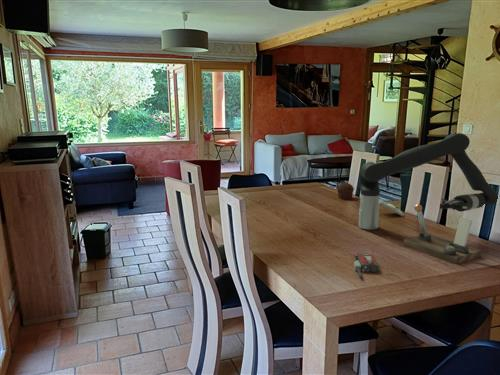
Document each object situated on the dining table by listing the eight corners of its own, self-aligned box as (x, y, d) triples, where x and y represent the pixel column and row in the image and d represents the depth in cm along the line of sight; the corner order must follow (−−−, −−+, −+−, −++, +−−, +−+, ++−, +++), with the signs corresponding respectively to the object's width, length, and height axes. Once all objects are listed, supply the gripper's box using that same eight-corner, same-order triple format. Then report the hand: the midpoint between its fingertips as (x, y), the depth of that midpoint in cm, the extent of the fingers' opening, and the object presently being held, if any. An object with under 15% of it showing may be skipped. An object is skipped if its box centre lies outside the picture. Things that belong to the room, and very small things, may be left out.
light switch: (404, 213, 219) (381, 200, 221) (398, 222, 221) (375, 209, 222) (402, 209, 227) (380, 197, 229) (396, 218, 229) (374, 205, 231)
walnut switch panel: (427, 239, 182) (428, 228, 181) (480, 256, 161) (481, 244, 160) (403, 245, 175) (404, 234, 174) (455, 264, 153) (456, 251, 152)
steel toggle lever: (424, 233, 176) (416, 202, 170) (430, 235, 173) (423, 203, 167) (420, 237, 175) (411, 206, 169) (426, 239, 172) (418, 207, 166)
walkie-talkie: (350, 259, 160) (357, 280, 141) (350, 249, 159) (358, 269, 140) (372, 260, 159) (383, 281, 140) (373, 249, 158) (384, 270, 139)
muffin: (355, 199, 261) (356, 185, 259) (338, 199, 261) (339, 185, 259) (351, 195, 273) (351, 181, 271) (335, 196, 273) (335, 181, 271)
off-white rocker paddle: (454, 245, 162) (461, 217, 161) (464, 249, 158) (472, 220, 157) (452, 245, 162) (460, 217, 161) (462, 248, 158) (470, 219, 157)
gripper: (453, 192, 189) (429, 195, 181) (480, 197, 178) (456, 201, 170) (451, 207, 191) (427, 211, 182) (478, 213, 179) (454, 218, 171)
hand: (441, 206), depth 176 cm, fingers closed
